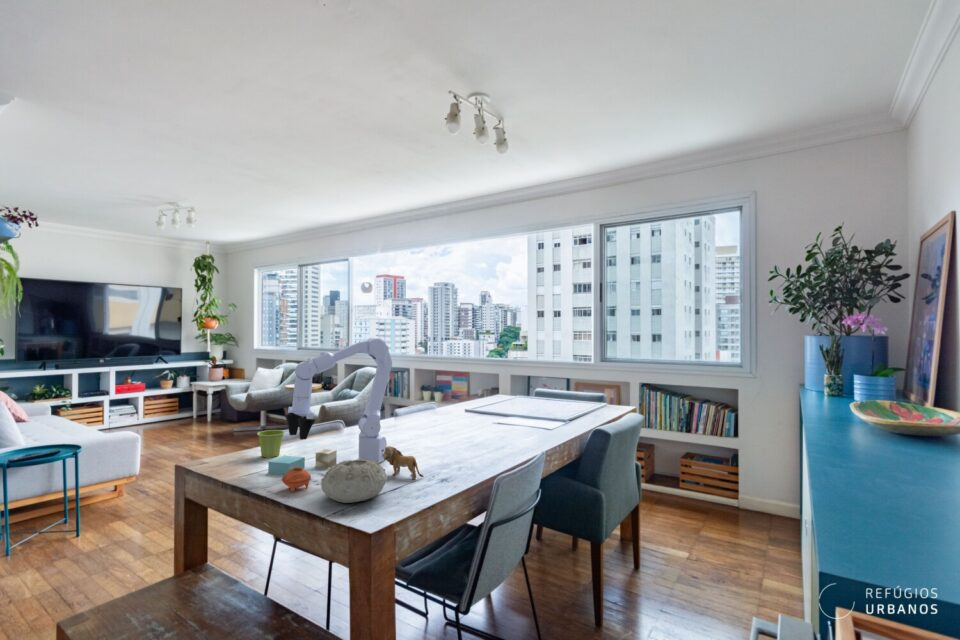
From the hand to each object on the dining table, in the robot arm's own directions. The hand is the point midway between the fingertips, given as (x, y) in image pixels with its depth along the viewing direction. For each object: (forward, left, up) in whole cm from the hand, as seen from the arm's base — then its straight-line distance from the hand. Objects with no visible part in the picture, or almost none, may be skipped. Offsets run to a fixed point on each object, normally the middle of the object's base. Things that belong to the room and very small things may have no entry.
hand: (297, 437), depth 162 cm
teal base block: (+2, +3, -11) cm, 11 cm away
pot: (-13, +18, -11) cm, 25 cm away
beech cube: (-7, -6, -11) cm, 14 cm away
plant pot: (+20, -11, -11) cm, 25 cm away
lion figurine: (-37, -3, -11) cm, 39 cm away
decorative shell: (-33, +19, -11) cm, 40 cm away
